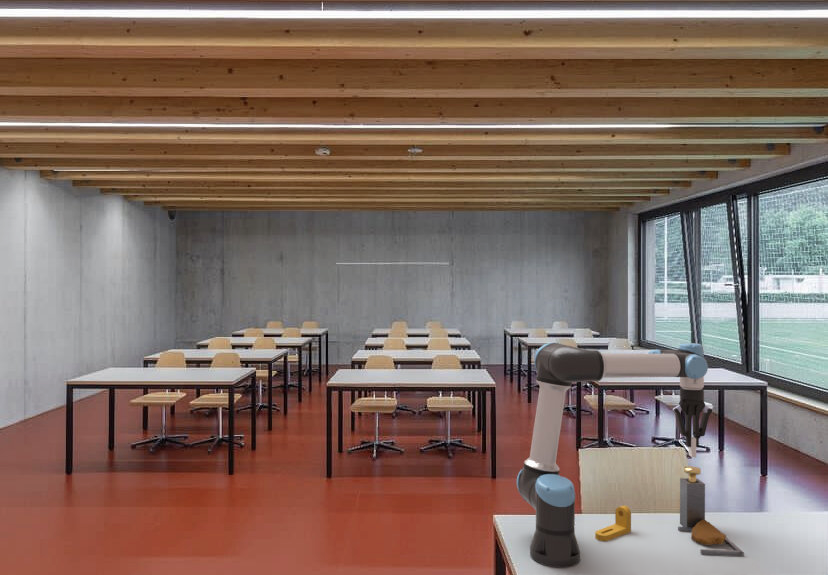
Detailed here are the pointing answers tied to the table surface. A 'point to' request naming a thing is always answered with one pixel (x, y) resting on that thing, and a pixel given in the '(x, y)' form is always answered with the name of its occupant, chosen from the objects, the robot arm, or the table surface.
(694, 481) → the pin
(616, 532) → the bracket
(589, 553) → the table surface
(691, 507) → the press
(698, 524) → the artifact
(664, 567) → the table surface
